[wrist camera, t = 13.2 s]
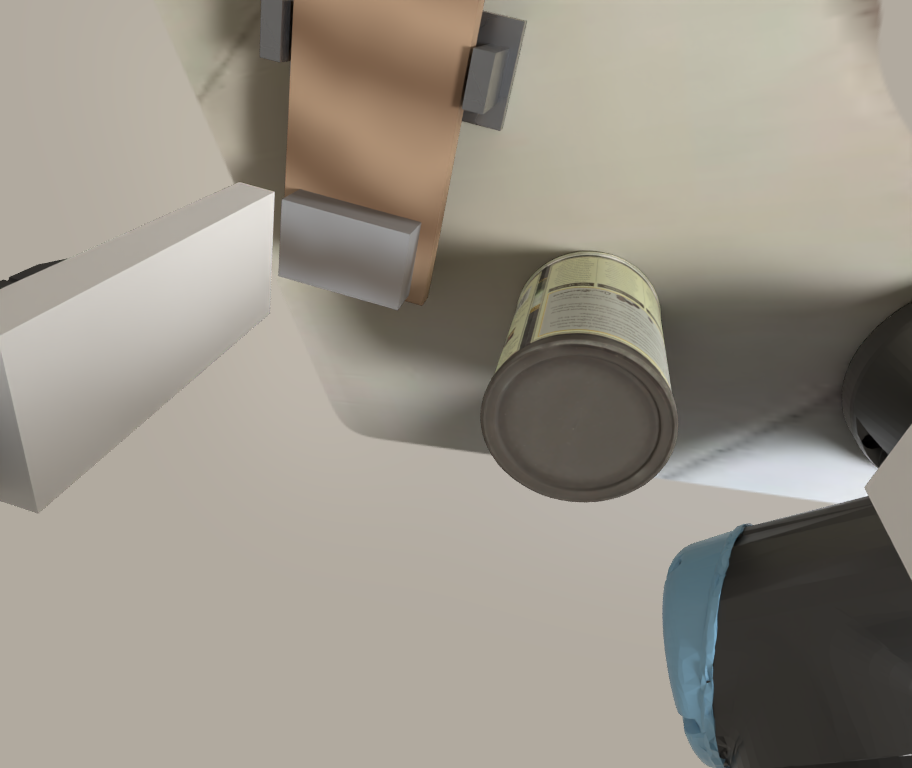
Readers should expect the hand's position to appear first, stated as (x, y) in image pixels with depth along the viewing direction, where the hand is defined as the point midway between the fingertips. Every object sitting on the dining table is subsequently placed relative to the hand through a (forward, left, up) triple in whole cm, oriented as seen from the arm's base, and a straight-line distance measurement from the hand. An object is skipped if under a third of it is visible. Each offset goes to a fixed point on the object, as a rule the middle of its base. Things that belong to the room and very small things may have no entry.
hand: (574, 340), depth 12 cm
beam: (+13, -1, -26) cm, 29 cm away
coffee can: (-3, +13, -31) cm, 34 cm away
